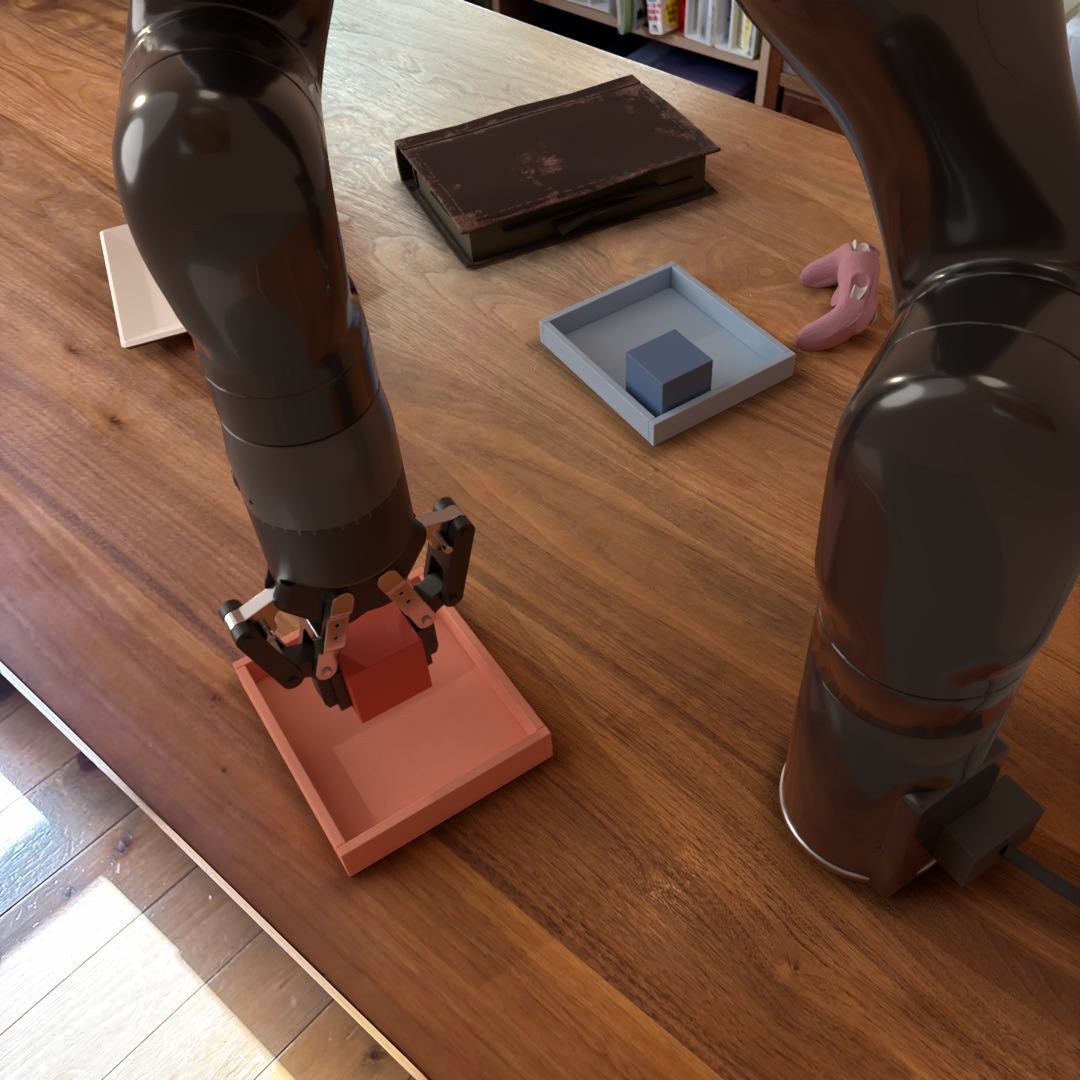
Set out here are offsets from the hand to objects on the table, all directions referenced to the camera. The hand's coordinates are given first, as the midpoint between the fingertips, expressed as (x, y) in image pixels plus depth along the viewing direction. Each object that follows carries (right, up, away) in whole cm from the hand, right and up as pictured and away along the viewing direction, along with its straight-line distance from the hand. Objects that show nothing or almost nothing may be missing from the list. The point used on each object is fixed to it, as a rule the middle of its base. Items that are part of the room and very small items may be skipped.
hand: (380, 675), depth 64 cm
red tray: (0, -3, +3) cm, 4 cm away
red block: (0, 0, 0) cm, 0 cm away
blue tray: (+19, +22, +23) cm, 37 cm away
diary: (+11, +41, +41) cm, 59 cm away
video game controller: (+33, +25, +26) cm, 49 cm away
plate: (-19, +31, +35) cm, 51 cm away
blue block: (+19, +18, +19) cm, 32 cm away
